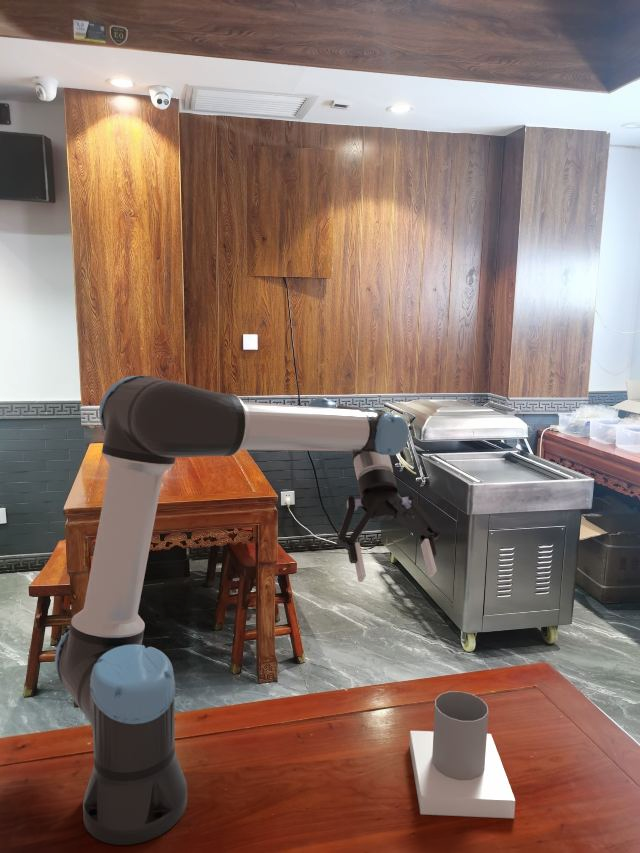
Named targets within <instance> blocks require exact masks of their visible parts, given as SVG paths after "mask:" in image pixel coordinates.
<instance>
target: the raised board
mask: <svg viewBox="0 0 640 853" xmlns="http://www.w3.org/2000/svg"><path fill="white" fill-rule="evenodd" d="M433 733H434V730H433V731H429V730H428V731H427V730H409V751H410V756H411V763H412V769H413V774H414V775H413V777H414V782H415V789H416V794H417V802H418V807H419V814H420V815H427V816H428V815H431V816H452V817H453V816H454V817H471V818H472V817H473V818H474V817H476V818H495V819H496V818H497V819H499V818H500V819H515V811H516V810H515V809H516V799H515V795H514V793H513V791H512V788H511V784H510V783H509V782H510V781H509V779H508V777H507V773H506V771H505V769H504V766H503V763H502V759H501V757H500V755H499V751H498V750H497V747H496V744H495V741H494V739H493V736H492V734H491V733H487V739H486V754H485V769H484V771H483V773H482V774H481V775H480V776H479V777H477V778H475V779H472V780H456V779H453V778H449V777H446V776H445V775H443V774H442V773H440V772H439V771H437V769H436V768H435V766H434V765H433V763H432V752H433Z"/></svg>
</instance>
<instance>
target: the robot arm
mask: <svg viewBox="0 0 640 853" xmlns="http://www.w3.org/2000/svg"><path fill="white" fill-rule="evenodd" d="M98 410H99V412H98V415H99V416H98V417H99V421H100V424H101V427H102V429H103V430H104V437H103V442H102V449H101V455H102V456H103V458H104V459H105V460H106V462H107V463H108V471H107V476H106V477H107V478H106V482H105V489H104V493H103V494H104V495H103V500H102V504H101V509H100V510H101V511H100V515H99V521H98V522H99V523H98V527H97V533H96V538H95V544H94V549H93V555H92V561H91V567H90V570H89V578H88V583H87V588H86V592H85V593H86V595H85V599H84V606H83V608H82V609H81V610H80V611H78V612H77V613H76V614H74V615H73V616H72V618H71V620H70V621H71V622H70V627H69V630H68V631H66V632H65V633H64V634H63V635H62V636H61V638H60V640H59V641H58V643H57V646H56V650H55V653H54V654H55V655H54V667H55V671H56V673H57V676H58V680H59V682H60V684H61V685H62V686H63V687H62V688H64V690H65V691H66V692H67V693H68V694H69V695H70V697H71V698H72V700H73V701H74V703H75V704H76V705H77V706H78V708H79V709H80V711H81V712H82V713H83V714H84V716H85V717H86V719H87V720H88V722H89V723H90V725H91V729H92V740H93V743H92V745H93V769H92V771H91V775H90V777H89V782H88V784H87V788H86V790H85V793H84V797H83V802H82V813H83V814H82V816H83V817H82V818H83V820H82V821H83V825H84V827H85V829H86V831H87V832H88V833H89V834H90V835H91V836H92V837H93V838H95V839H97V840H98V841H100V842H103V843H106V844H108V845H109V844H110V845H115V846H130V845H136V844H142V843H145V842H148V841H151V840H153V839H155V838H158V837H159V836H162V835H163V834H165V833H166V832H168V831H169V830H171V829H172V827H174V826H175V825H176V824H177V823H178V822H179V821H180V819H181V818H182V816H183V815H184V813H185V811H186V808H187V805H188V784H187V780H186V777H185V774H184V771H183V768H182V767H181V764H180V762H179V759H178V756H177V754H176V740H175V739H176V738H175V737H176V734H175V733H176V732H175V731H176V728H175V727H176V726H175V725H176V724H175V723H176V721H175V720H176V719H175V714H176V713H175V711H176V710H175V708H176V707H175V697H176V695H175V694H176V680H175V675H174V668H173V665H172V662H171V660H170V658H169V657H168V656H167V655H166V654H165V653H164V652H163V651H161V650H160V649H157V648H155V647H154V646H153V647H152V646H148V647H146V646H145V645H144V644H143V643H142V642H143V638H144V632H145V628H146V626H145V625H146V624H145V622H144V620H143V618H141V616H140V615H139V608H140V607H139V606H140V603H141V595H142V591H143V585H144V582H145V581H144V579H145V574H146V570H147V565H148V564H147V562H148V559H149V552H150V547H151V542H152V538H153V531H154V525H155V520H156V514H157V509H158V504H159V499H160V493H161V487H162V483H163V476H164V473H165V472H166V471H168V470H169V469H171V468H172V467H173V466H175V462H176V458H177V459H178V458H200V457H232V456H233V457H234V455H237V454H238V453H239V452H240V451H241V450H242V451H243V450H244V451H245V450H246V451H247V450H248V451H249V450H250V451H252V450H253V451H318V452H320V451H325V452H329V451H331V452H334V451H335V452H351V456H352V463H353V466H354V472H355V477H356V479H357V486H358V491H359V496H360V498H355V497H354V496H353V495H350V496H349V497H348V499H347V501H346V503H345V510H346V511H345V512H346V513H345V515H344V519H343V521H342V524H341V527H340V530H339V533H338V536H337V539H336V542H335V544H336V546H337V547H342V546H343V547H345V548H344V549H345V550H346V551H347V554H348V556H347V557H348V560H349V563H350V564H354V565H355V570H356V575H357V581H358V583H362V582H364V581H365V578H366V575H367V574H366V569H365V564H364V560H363V554H362V548H361V545H360V542H357V540H358V539H359V538H360V536H361V534H362V533H363V531H364V530H365V528H366V527H367V525H368V524H369V522H371V521H372V519H373V520H375V522H380V521H392V520H394V521H396V523H398V524H401V525H402V526H403V527H404V528H406V529H407V530H408V531H409V532H411V533H412V534H413V535H414V536H415V537H416V538H418V540H420V541H421V544H420V549H421V552H422V556H423V560H424V563H425V567H426V568H425V569H426V572H427V573H426V574H427V576H428V578H433V577H434V575H435V574H436V572H438V570H437V565H436V563H435V557H436V556H437V550H436V545H435V542H434V541H437V540H438V539H439V537H440V536H441V534H442V532H441V529H439V527H438V526H437V524H435V522H434V521H433V519H431V517H430V516H429V515H428V514H427V513H426V511H425V510H424V509H423V508H422V506H420V504H419V502H418V500H417V497H416V494H414V493H410V494H409V495H408V496H404V497H402V496H400V494H399V490H398V486H397V485H398V484H397V482H396V481H397V480H396V477H395V474H394V469H393V465H392V461H391V456H396V455H398V454H400V453H401V452H402V451H403V450H404V449H405V447H406V446H407V444H408V441H409V434H410V430H409V425H408V423H407V421H406V420H405V418H404V417H402V416H400V415H399V414H394V413H392V412H387V411H386V412H383V411H377V410H375V409H374V408H371V407H367V408H365V407H355V406H349V405H343V404H338V403H336V402H335V401H334V400H333V399H331V400H330V399H327V398H325V397H317V398H315V399H313V400H312V401H311V402H310V403H309V404H308V405H307V406H306V405H296V404H295V405H294V404H280V403H279V404H278V403H267V402H252V401H243V400H242V399H241V398H240V397H239V396H238V395H237V394H232V393H225V392H224V393H222V392H217V391H211V390H208V389H203V388H200V387H196V386H193V385H191V384H190V385H189V384H187V383H183V382H180V381H176V380H175V381H174V380H168V379H164V378H163V379H162V378H159V377H155V376H152V375H142V374H139V375H132V376H127V377H123V378H122V379H119V380H117V381H116V382H115V383H113V384H112V385H111V386H109V388H108V389H107V390H106V391H105V393H104V394H103V396H102V398H101V400H100V404H99V408H98ZM402 505H404V507H405V508H404V507H402ZM359 507H360V509H361V510H362V511H364V512H365V514H364V515H363V516H362V518H361V520H360V521H359V523H358V524H357V526H356V527H355V529H354V530H353V531H352V533H351V534H350V536H349V537H348V536H347V534H348V530H349V528H350V525H351V522H352V519H353V515H354V512H355V511H357V510H358V508H359ZM406 509H408V511H409V512H410V513H408V512H407V510H406ZM410 514H411V515H412V516H411V515H410Z"/></svg>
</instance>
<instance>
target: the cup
mask: <svg viewBox="0 0 640 853" xmlns="http://www.w3.org/2000/svg"><path fill="white" fill-rule="evenodd" d="M488 708H489V706H488V704H487V702H485V701H484V700H483V699H482V698H480V697H478V696H477V695H475V694H473V693H469V692H464V691H461V690H460V691H458V690H457V691H456V690H455V691H453V690H452V691H451V690H449V691H446V692H442V693H440V694H439V695H438V696H437V697H436V698H434V717H433V718H434V719H433V732H434V733H433V752H432V763H433V765H434V766H435V768H436V769H437V771H439V772H440V773H442V774H443V775H445V776H446V777H449V778H453V779H456V780H472V779H475V778H477V777H479V776H480V775H481V774H482V773H483V771H484V769H485V754H486V739H487V734H488V724H489V723H488V722H489V720H488V719H489V709H488Z"/></svg>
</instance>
